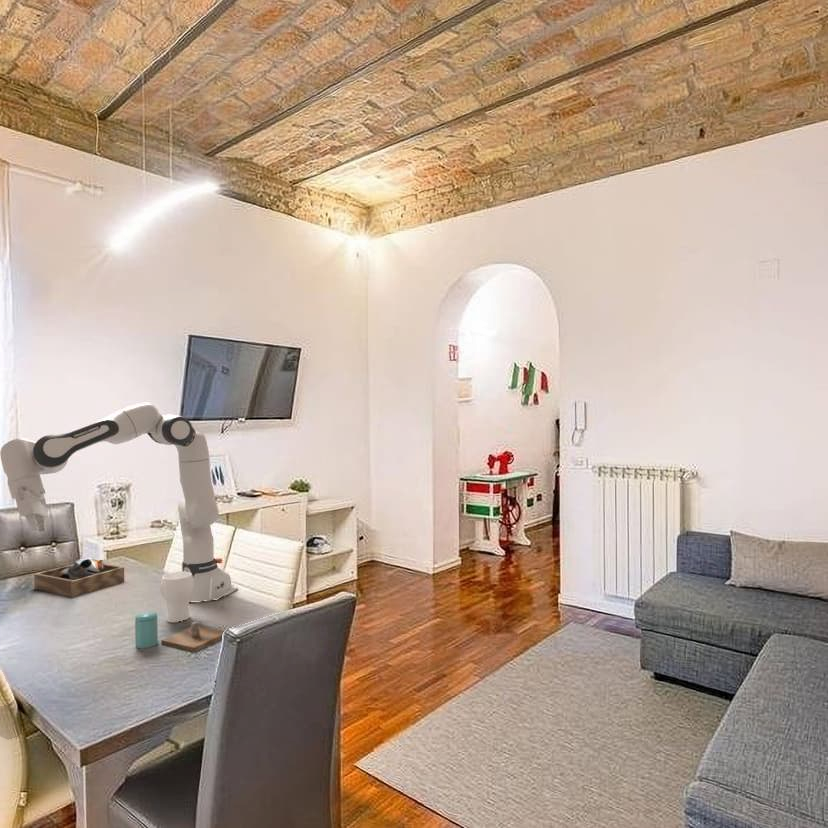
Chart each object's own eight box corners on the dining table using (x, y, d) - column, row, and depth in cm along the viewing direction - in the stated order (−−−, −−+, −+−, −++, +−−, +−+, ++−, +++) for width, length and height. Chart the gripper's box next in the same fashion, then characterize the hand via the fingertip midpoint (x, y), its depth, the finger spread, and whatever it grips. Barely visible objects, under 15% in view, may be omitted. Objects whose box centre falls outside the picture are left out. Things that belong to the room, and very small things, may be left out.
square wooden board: (196, 628, 195) (196, 612, 195) (228, 635, 189) (228, 619, 189) (161, 644, 182) (160, 627, 182) (194, 651, 176) (194, 634, 176)
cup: (174, 626, 197) (173, 581, 197) (154, 620, 203) (153, 577, 202) (201, 616, 206) (200, 573, 206) (181, 611, 212) (180, 569, 211)
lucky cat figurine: (84, 578, 255) (99, 549, 255) (97, 593, 248) (113, 564, 249) (50, 576, 242) (67, 546, 242) (63, 593, 236) (80, 562, 236)
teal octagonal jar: (148, 639, 186) (147, 610, 186) (161, 642, 184) (161, 613, 184) (131, 646, 181) (131, 616, 181) (145, 649, 178) (144, 619, 178)
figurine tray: (86, 574, 261) (86, 560, 260) (124, 581, 249) (124, 567, 249) (34, 588, 241) (34, 574, 240) (73, 596, 229) (72, 581, 229)
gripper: (29, 481, 179) (42, 525, 177) (45, 489, 198) (57, 528, 196) (5, 488, 176) (18, 532, 175) (24, 495, 195) (35, 535, 194)
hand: (39, 530), depth 186 cm, fingers open, 8 cm apart
